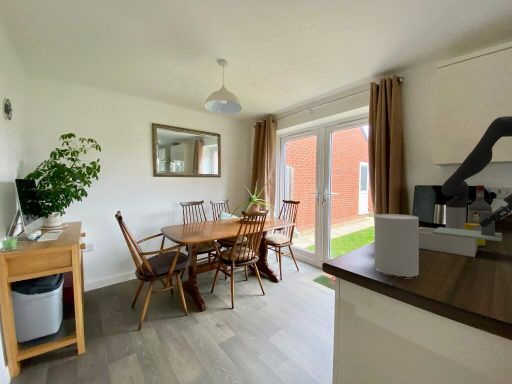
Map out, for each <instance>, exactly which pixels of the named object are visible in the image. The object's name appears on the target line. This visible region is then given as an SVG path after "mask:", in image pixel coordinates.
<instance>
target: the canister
mask: <svg viewBox="0 0 512 384" xmlns="http://www.w3.org/2000/svg"><path fill="white" fill-rule="evenodd" d="M419 219H420V218H419V216H415V215H410V214H409V215H408V214H399V213H397V214H396V213H394V214H393V213H381V214H378V213H377V214H375V215H374V268H375V267H376V268H377V269H379V270H381V271H384V272H386V273H389V274H393V275H397V276H406V277H413V276H417V275H418V274H419V275H420V273H419V269H420V268H419V264H420V263H419V258H420V257H419V251H420V250H419V249H420V248H419V228H420V227H419V224H420V223H419V222H420V221H419ZM419 275H418V276H419Z"/></svg>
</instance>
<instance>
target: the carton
mask: <svg viewBox="0 0 512 384" xmlns="http://www.w3.org/2000/svg"><path fill="white" fill-rule="evenodd" d="M436 229H437V228H435V227H434V228H433V227H422V226H420V227H419V249H421V248H422V249H421V250H427V249H428V251H433V252H441V253H447V254H452V255H458V256H466V257H471V258H475V257H476V254H477V252H478V247H477V238H468V237H460V236H451V235H442V234H433V233H432V232H433V231H434V230H436Z"/></svg>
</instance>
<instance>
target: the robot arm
mask: <svg viewBox="0 0 512 384" xmlns="http://www.w3.org/2000/svg"><path fill="white" fill-rule="evenodd" d="M507 137H508V138H509V137H510V138H511V137H512V115H511V116H509V115H508V116H504V115H503V116H499V117H497V118H495V119H493V120H492V122H491V123H490V125H489V126H487V128H486V130H485V132H484V134H483V136H482V137H481V138H480V140H479V141H478V142H477V144H476V145H475V147H474V148H473V149H472V150H471V152H470V153H469V154H468V155H467V156H466V158H465V159H464V160H463V162H462V163H461V164H460V166H458V168H457V169H456V170H455V171H454V172H453V173H452V175H450V176H449V177H448V178H447V179H446V180H445V181H444V183H443V184H442V186H441V193H442V194H443V195H445V196H452V197H453V199H451V200H448V201H446V202H445V228H453V229H463V223H467V205H468V201H469V190H470V189H469V185H468V183H467V181H466V180H467V179H470V178H472V177H474V176H475V175H477V174H478V173H481V172H482V171H483V170H484V169H486V167H487V166H488V165H489V164H490V163H491V162H492V160H493V148H494V146H495V145H496V143H497V142H498V141H499V140H500V139H501V138H507ZM503 202H505V203H506V205H504V206H503V205H500V206H499V207H498V208H496V209H495V210H494V211H492V212H493V213H492V215H491V216H489V217H488V218H487V219H485V220H484V221H482V222H480V223H479V224H480V225H481V226H482V227H486V226H487V225H489V224H490V223H492V222H495V223H496V222H498V221H499V220H502V219H504V218H505V217H507V216H510V215H511V214H512V193H511V194H509V195H507V196H506V197H505V198H503ZM493 216H495V218H494V217H493Z"/></svg>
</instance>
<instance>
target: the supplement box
mask: <svg viewBox="0 0 512 384" xmlns="http://www.w3.org/2000/svg"><path fill="white" fill-rule="evenodd" d="M463 230H473V231H481V225H480V224H477V223H468V222H466V223H463ZM486 243H487V242H486V239H477V248H478V247H482V248H485V247H486Z"/></svg>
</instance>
